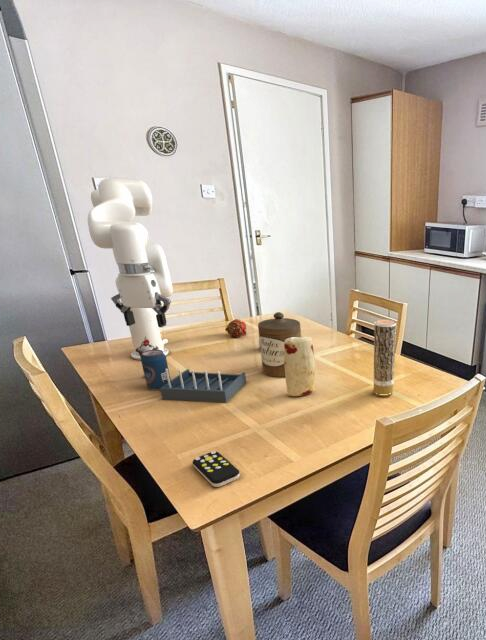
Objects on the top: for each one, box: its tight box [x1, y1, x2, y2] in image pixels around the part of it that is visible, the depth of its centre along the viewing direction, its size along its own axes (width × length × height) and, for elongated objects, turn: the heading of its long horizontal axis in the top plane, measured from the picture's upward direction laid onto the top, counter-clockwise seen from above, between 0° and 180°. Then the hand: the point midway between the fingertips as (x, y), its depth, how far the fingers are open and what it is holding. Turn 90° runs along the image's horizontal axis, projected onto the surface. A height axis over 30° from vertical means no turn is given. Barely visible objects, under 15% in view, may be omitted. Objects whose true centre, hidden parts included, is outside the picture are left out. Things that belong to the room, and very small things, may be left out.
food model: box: [284, 336, 316, 397], centre depth 132 cm, size 10×7×20 cm
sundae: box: [134, 336, 159, 357], centre depth 139 cm, size 7×7×15 cm
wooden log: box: [373, 319, 397, 398], centre depth 135 cm, size 7×7×25 cm
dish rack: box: [159, 368, 247, 403], centre depth 133 cm, size 16×20×10 cm
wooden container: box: [257, 311, 302, 378], centre depth 150 cm, size 15×15×22 cm
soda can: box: [140, 350, 172, 391], centre depth 133 cm, size 7×7×12 cm
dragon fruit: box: [225, 318, 247, 338], centre depth 186 cm, size 8×8×12 cm
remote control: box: [192, 450, 241, 488], centre depth 95 cm, size 6×13×2 cm, turn 48°
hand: (146, 325), depth 126 cm, fingers open, 9 cm apart
